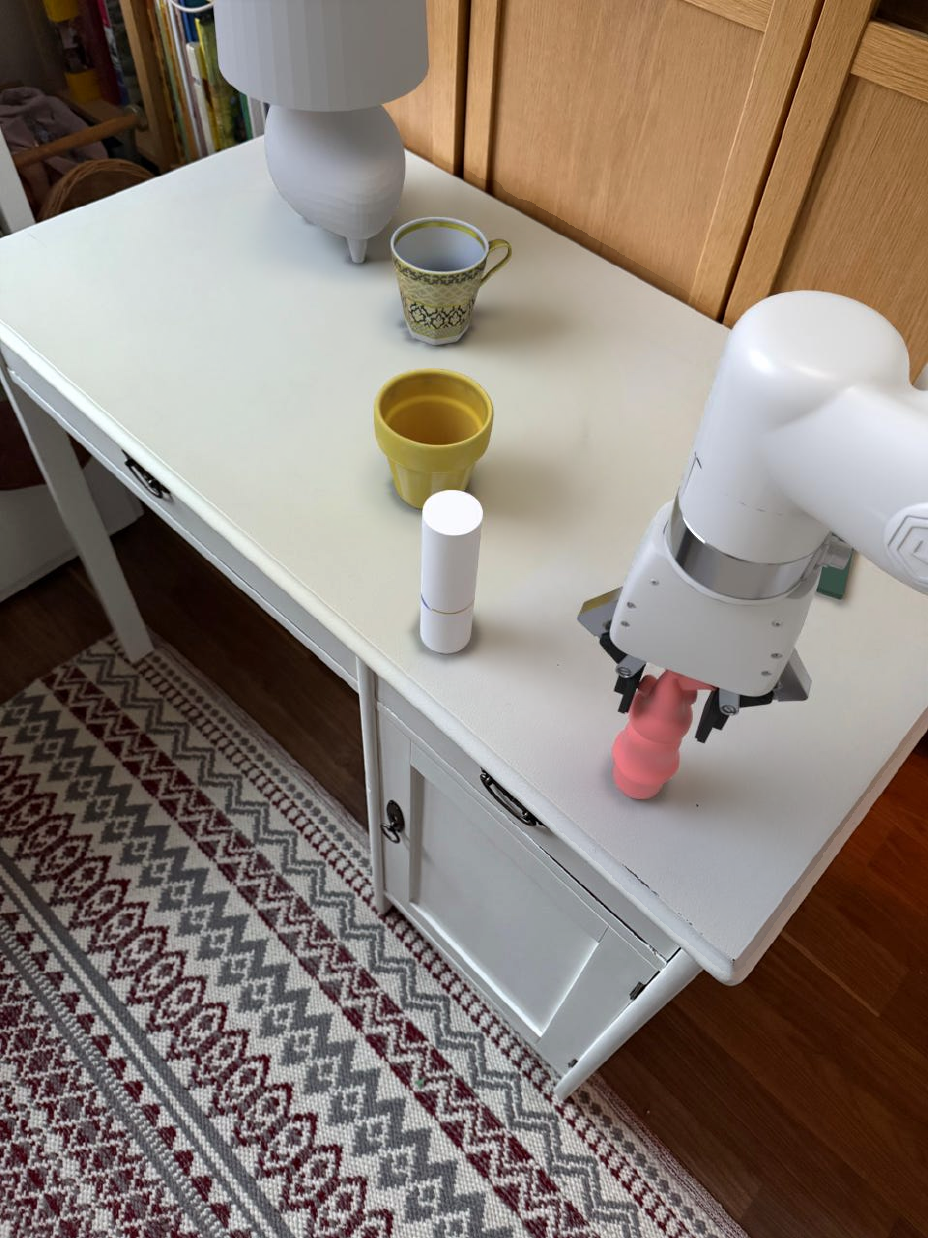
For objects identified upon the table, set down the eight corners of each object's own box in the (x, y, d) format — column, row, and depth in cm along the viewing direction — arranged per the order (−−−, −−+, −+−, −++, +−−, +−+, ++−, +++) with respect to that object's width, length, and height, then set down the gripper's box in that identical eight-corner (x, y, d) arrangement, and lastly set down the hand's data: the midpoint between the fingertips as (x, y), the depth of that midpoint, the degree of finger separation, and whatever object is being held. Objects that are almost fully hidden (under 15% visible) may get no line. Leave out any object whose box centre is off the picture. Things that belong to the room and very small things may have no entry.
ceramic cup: (406, 363, 96) (406, 279, 88) (380, 306, 101) (378, 223, 93) (520, 342, 99) (531, 260, 91) (489, 288, 104) (496, 206, 96)
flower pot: (476, 442, 90) (483, 362, 82) (494, 521, 84) (503, 443, 76) (371, 450, 88) (368, 369, 80) (382, 530, 82) (380, 452, 74)
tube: (480, 626, 77) (494, 506, 65) (453, 662, 75) (462, 544, 62) (438, 603, 78) (443, 481, 66) (410, 637, 76) (410, 517, 64)
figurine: (677, 753, 70) (726, 642, 58) (668, 813, 67) (717, 709, 55) (612, 737, 71) (647, 624, 59) (600, 795, 68) (634, 689, 56)
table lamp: (459, 266, 106) (482, -173, 74) (283, 307, 100) (223, -152, 68) (384, 169, 118) (376, -248, 85) (222, 200, 112) (146, -236, 79)
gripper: (919, 533, 47) (800, 710, 62) (607, 437, 50) (565, 627, 65) (901, 642, 43) (779, 804, 58) (562, 529, 46) (529, 710, 61)
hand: (666, 709), depth 61 cm, fingers closed on figurine, 4 cm apart
